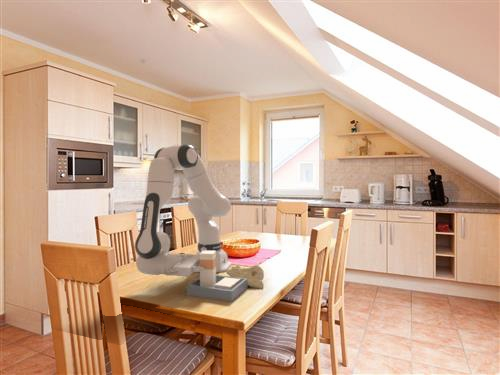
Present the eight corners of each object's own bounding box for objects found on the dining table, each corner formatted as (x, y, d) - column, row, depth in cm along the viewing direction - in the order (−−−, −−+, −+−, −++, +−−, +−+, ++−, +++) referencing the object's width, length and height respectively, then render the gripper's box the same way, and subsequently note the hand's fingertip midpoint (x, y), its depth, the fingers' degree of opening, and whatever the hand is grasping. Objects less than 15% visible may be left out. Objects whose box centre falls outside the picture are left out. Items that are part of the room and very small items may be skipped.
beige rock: (270, 290, 140) (254, 263, 149) (272, 282, 135) (255, 255, 143) (240, 305, 134) (224, 277, 143) (241, 298, 129) (224, 269, 138)
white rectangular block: (225, 287, 134) (225, 277, 134) (240, 289, 132) (240, 279, 132) (214, 295, 125) (214, 284, 125) (230, 298, 122) (230, 286, 122)
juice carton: (203, 287, 135) (203, 250, 134) (216, 287, 134) (216, 250, 134) (199, 292, 129) (199, 253, 129) (213, 292, 129) (213, 253, 128)
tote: (206, 284, 141) (206, 273, 141) (247, 290, 134) (247, 278, 134) (186, 297, 126) (186, 285, 126) (231, 304, 119) (231, 291, 119)
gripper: (166, 263, 122) (200, 264, 121) (182, 251, 143) (212, 252, 141) (166, 279, 123) (200, 281, 121) (182, 265, 143) (212, 266, 141)
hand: (207, 265), depth 131 cm, fingers open, 8 cm apart
